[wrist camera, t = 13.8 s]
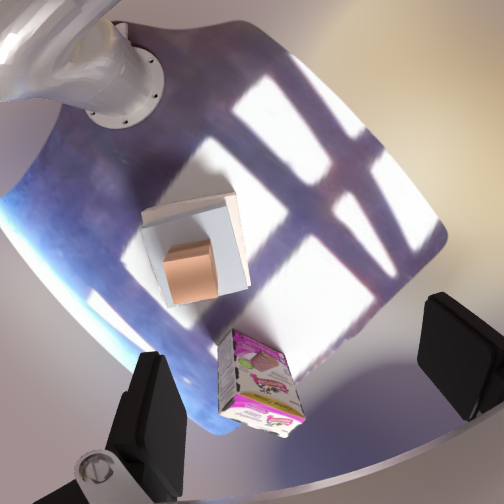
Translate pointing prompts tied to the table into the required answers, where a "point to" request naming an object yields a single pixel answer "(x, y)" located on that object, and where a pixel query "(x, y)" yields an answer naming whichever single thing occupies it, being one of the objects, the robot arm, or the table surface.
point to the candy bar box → (257, 386)
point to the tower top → (192, 230)
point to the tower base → (193, 204)
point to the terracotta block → (191, 272)
